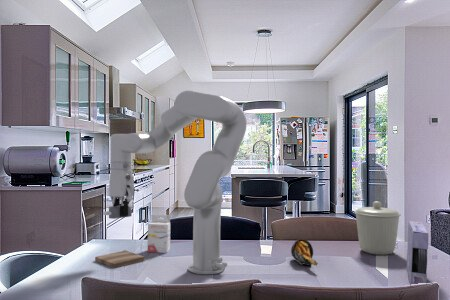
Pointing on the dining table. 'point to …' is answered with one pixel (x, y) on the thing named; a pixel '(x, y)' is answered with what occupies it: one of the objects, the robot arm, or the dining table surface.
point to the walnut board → (119, 259)
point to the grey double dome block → (117, 212)
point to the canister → (377, 229)
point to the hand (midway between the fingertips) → (120, 214)
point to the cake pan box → (417, 252)
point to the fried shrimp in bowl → (303, 252)
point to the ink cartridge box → (159, 234)
